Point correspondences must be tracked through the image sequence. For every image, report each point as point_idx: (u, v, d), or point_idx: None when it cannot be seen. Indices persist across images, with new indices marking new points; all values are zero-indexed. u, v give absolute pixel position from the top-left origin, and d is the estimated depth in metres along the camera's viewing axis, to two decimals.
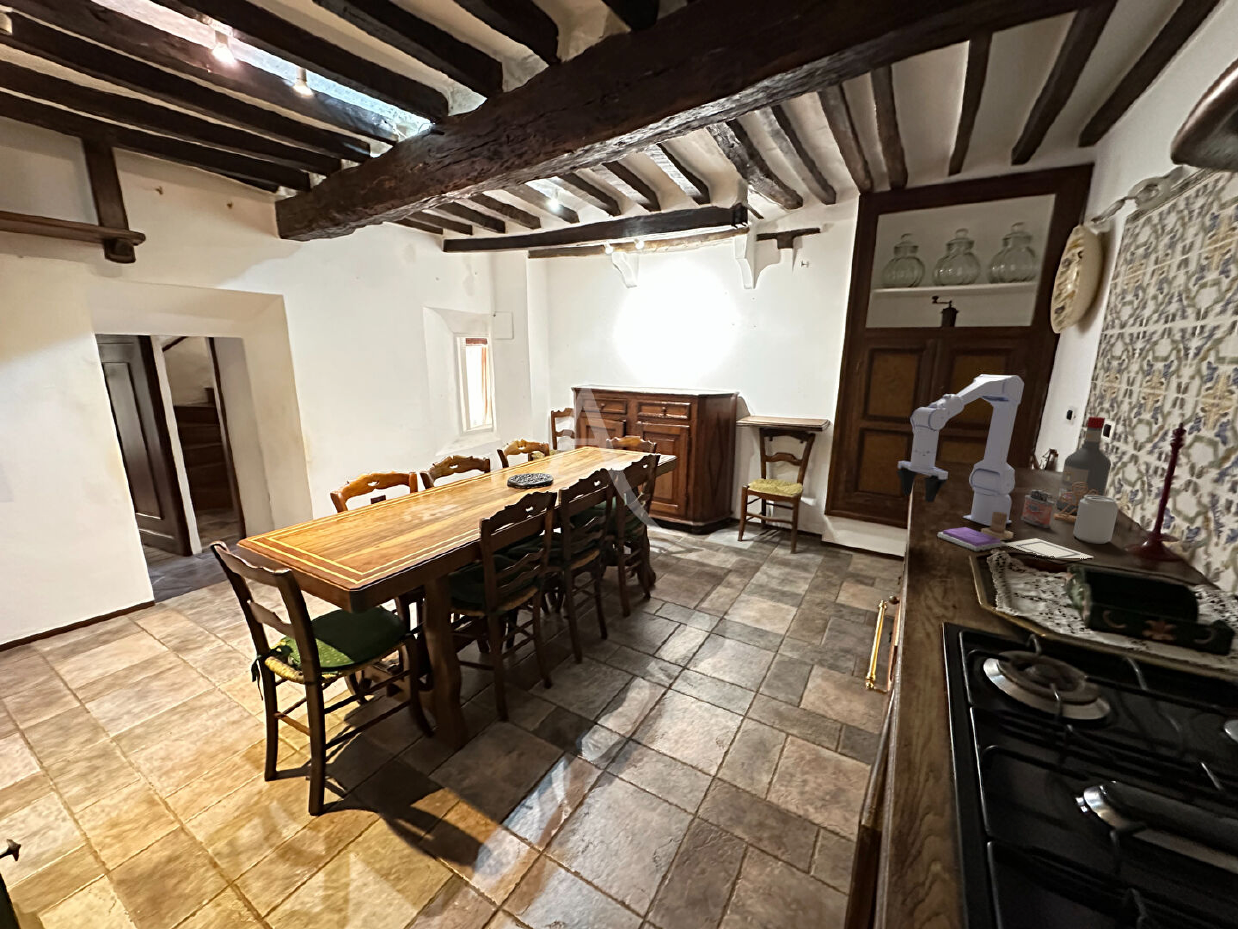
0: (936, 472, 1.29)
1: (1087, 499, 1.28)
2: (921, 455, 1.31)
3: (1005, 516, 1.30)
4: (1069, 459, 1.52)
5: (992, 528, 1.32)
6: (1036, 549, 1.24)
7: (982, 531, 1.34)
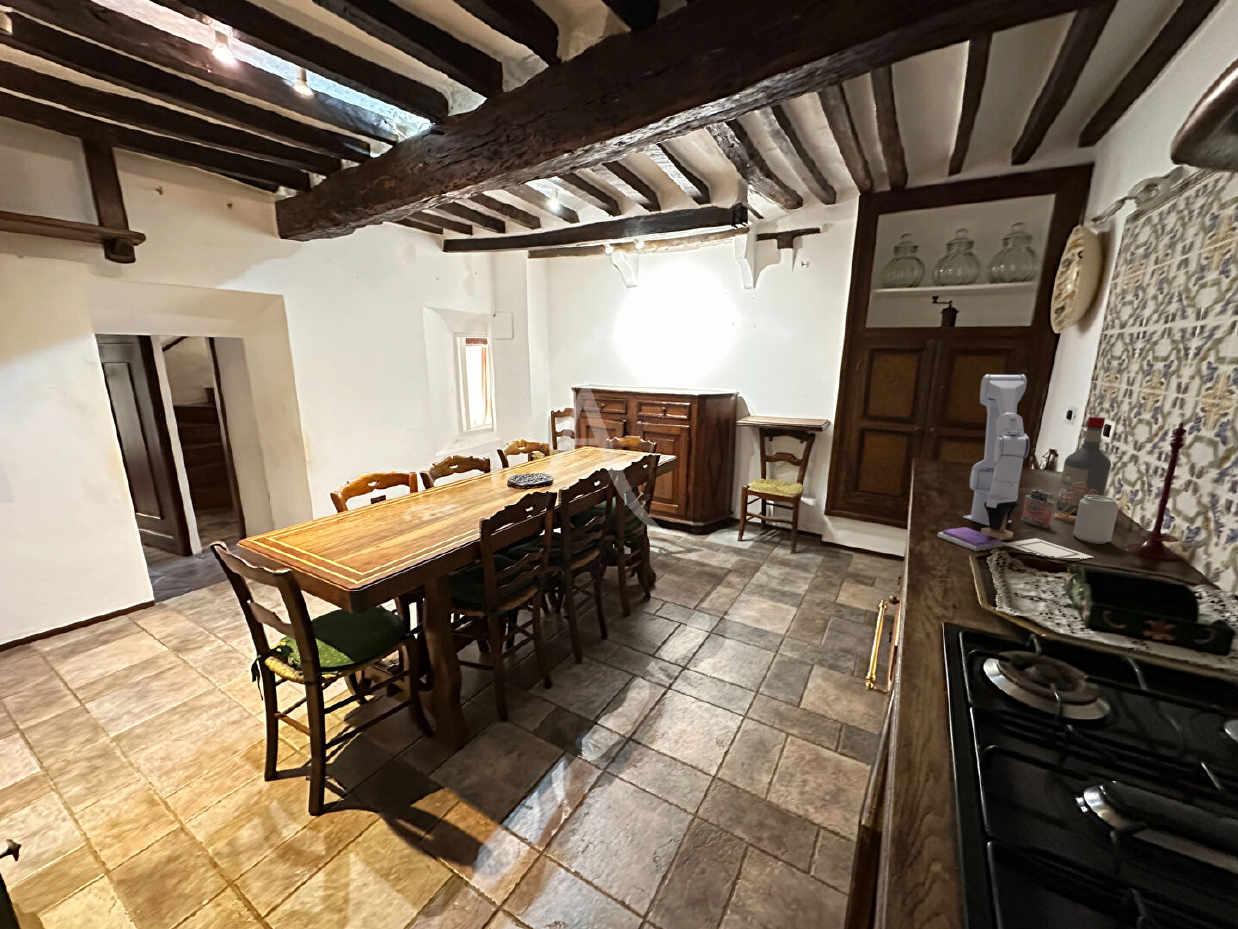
0: (988, 499, 1.28)
1: (1087, 499, 1.28)
2: (992, 481, 1.31)
3: (1005, 516, 1.30)
4: (1069, 459, 1.52)
5: None
6: (1036, 549, 1.24)
7: (982, 531, 1.34)
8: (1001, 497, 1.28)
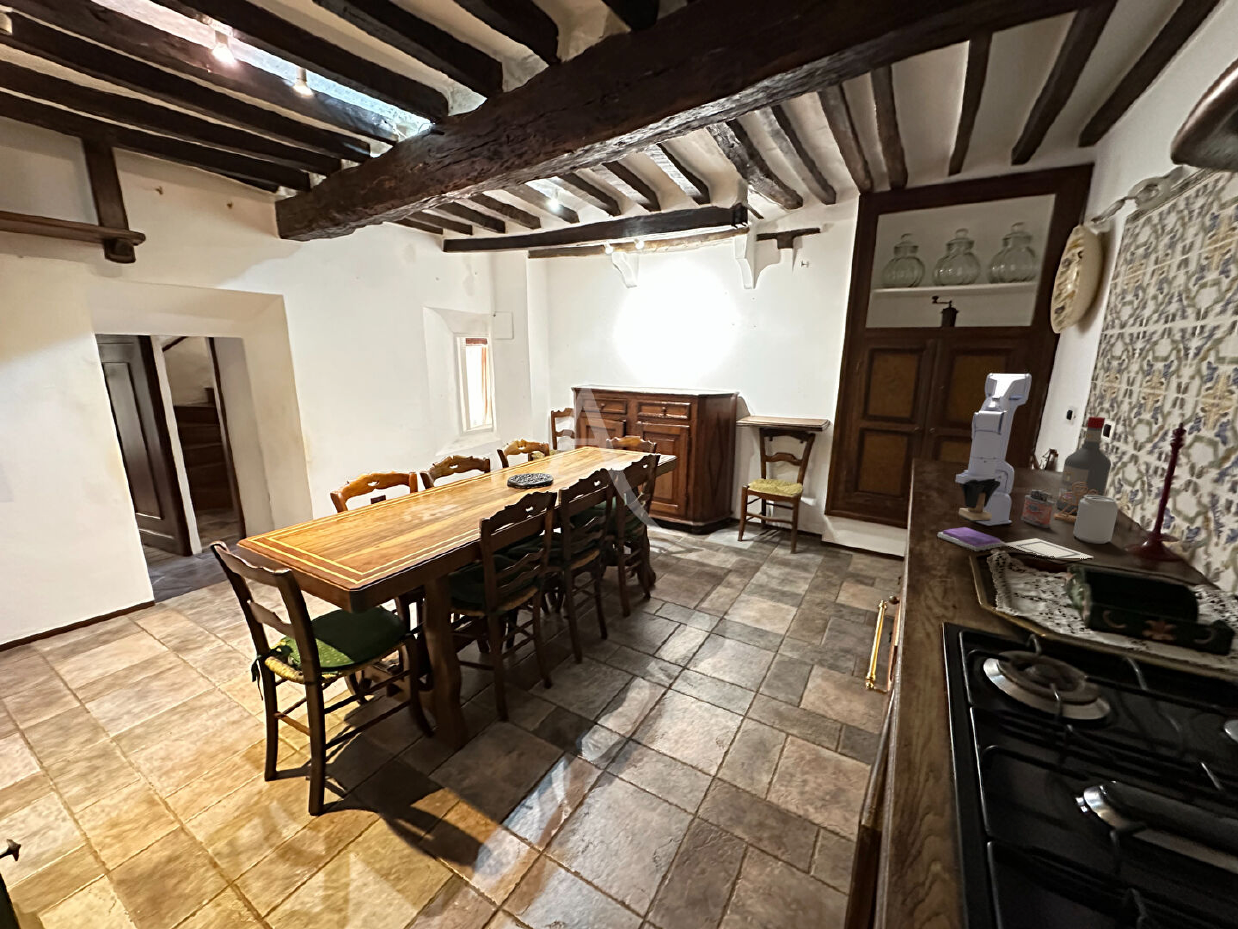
0: None
1: (1087, 499, 1.28)
2: None
3: (982, 495, 1.26)
4: (1069, 459, 1.52)
5: (969, 508, 1.28)
6: (1036, 549, 1.24)
7: (960, 511, 1.30)
8: (975, 474, 1.25)
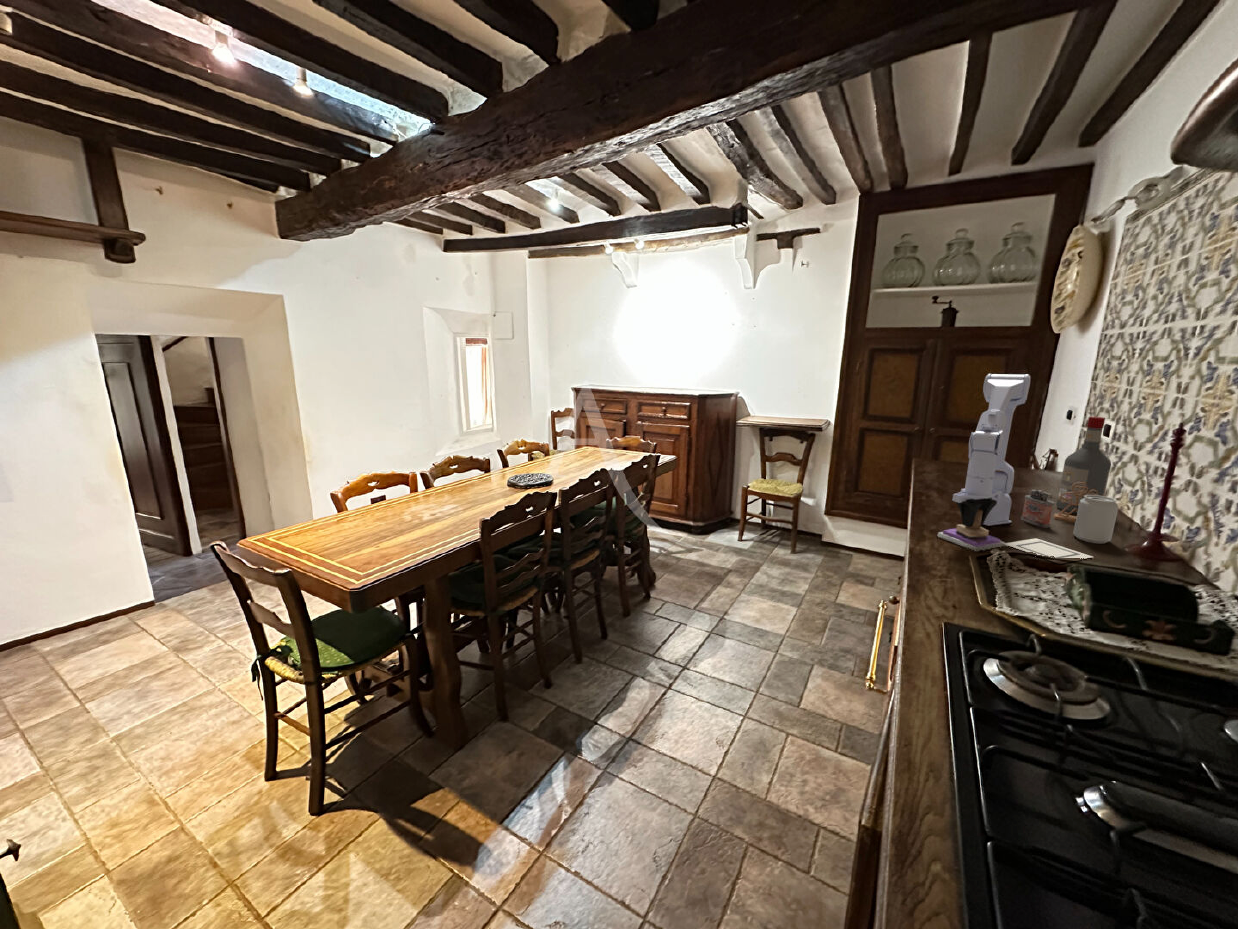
0: None
1: (1087, 499, 1.28)
2: None
3: (979, 512, 1.27)
4: (1069, 459, 1.52)
5: None
6: (1036, 549, 1.24)
7: (957, 527, 1.32)
8: (971, 493, 1.26)
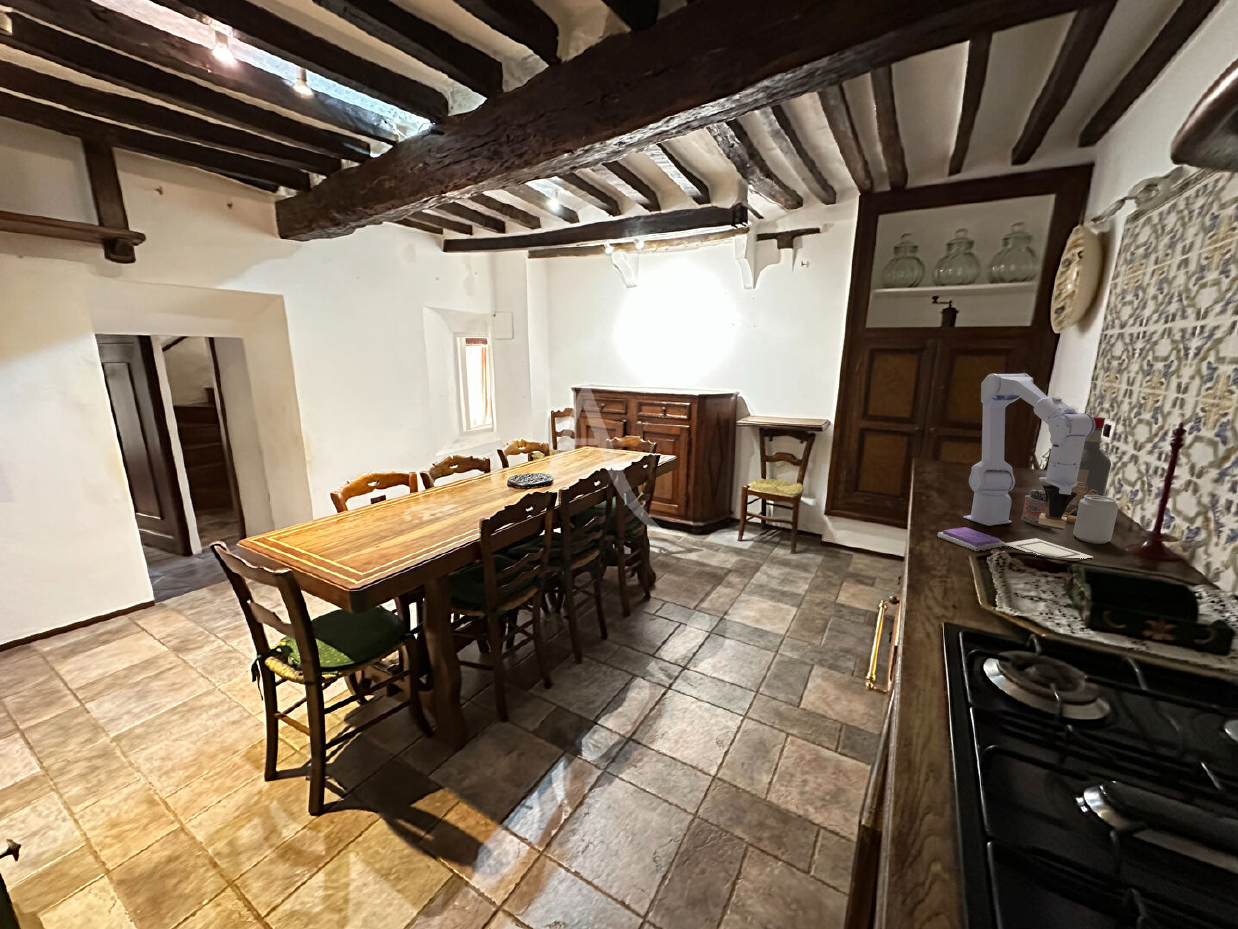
0: (1058, 485, 1.15)
1: (1087, 499, 1.28)
2: (1051, 465, 1.18)
3: None
4: None
5: None
6: (1036, 549, 1.24)
7: (1040, 520, 1.21)
8: (1066, 482, 1.17)
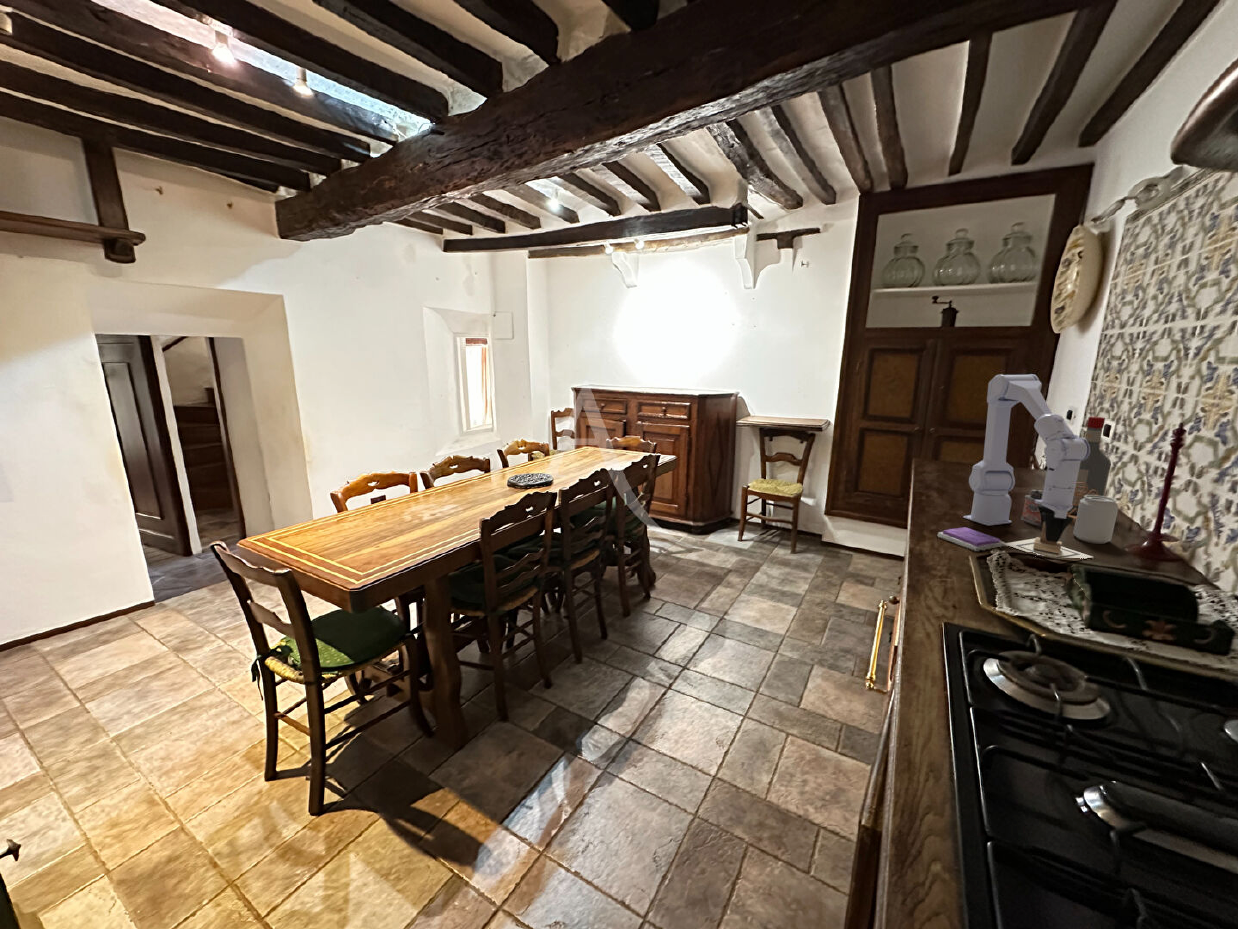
0: (1053, 509, 1.17)
1: (1087, 499, 1.28)
2: (1047, 489, 1.20)
3: None
4: None
5: (1046, 540, 1.22)
6: None
7: (1035, 545, 1.23)
8: (1061, 505, 1.18)
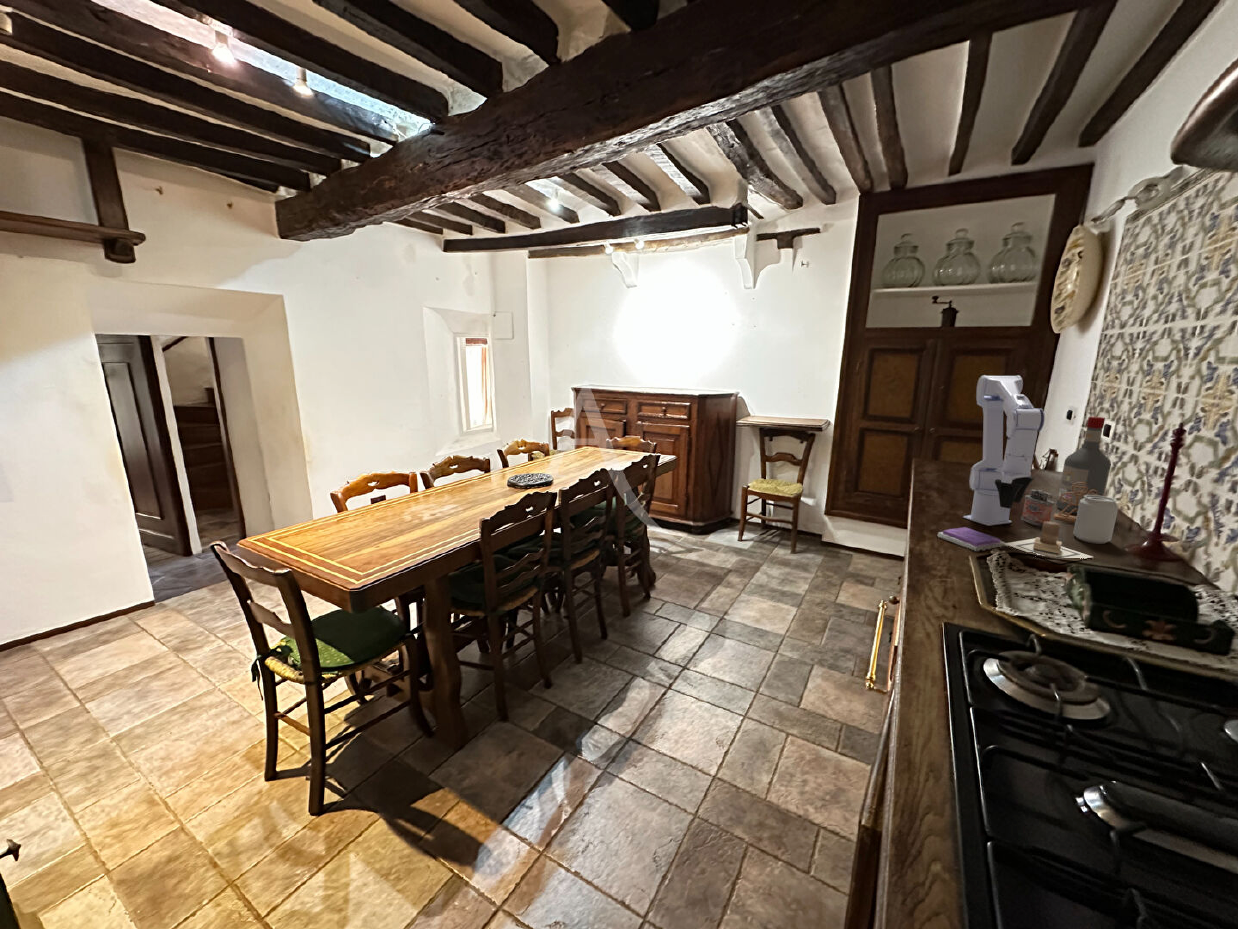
0: (1003, 475, 1.24)
1: (1087, 499, 1.28)
2: (1005, 457, 1.26)
3: (1059, 526, 1.21)
4: (1069, 459, 1.52)
5: (1046, 540, 1.22)
6: None
7: (1035, 545, 1.23)
8: (1015, 472, 1.24)
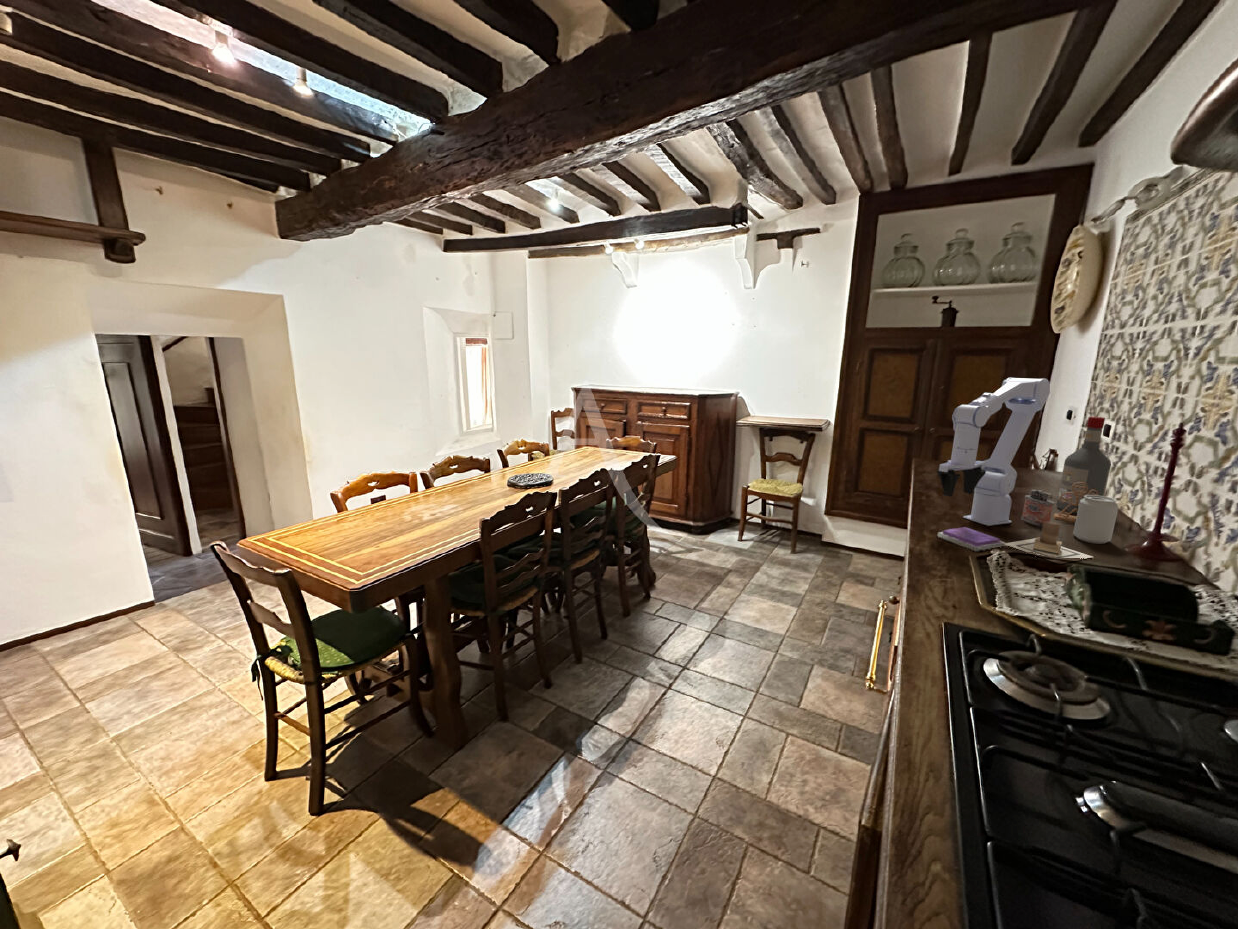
0: None
1: (1087, 499, 1.28)
2: (952, 449, 1.37)
3: (1059, 526, 1.21)
4: (1069, 459, 1.52)
5: (1046, 540, 1.22)
6: None
7: (1035, 545, 1.23)
8: (957, 463, 1.34)
